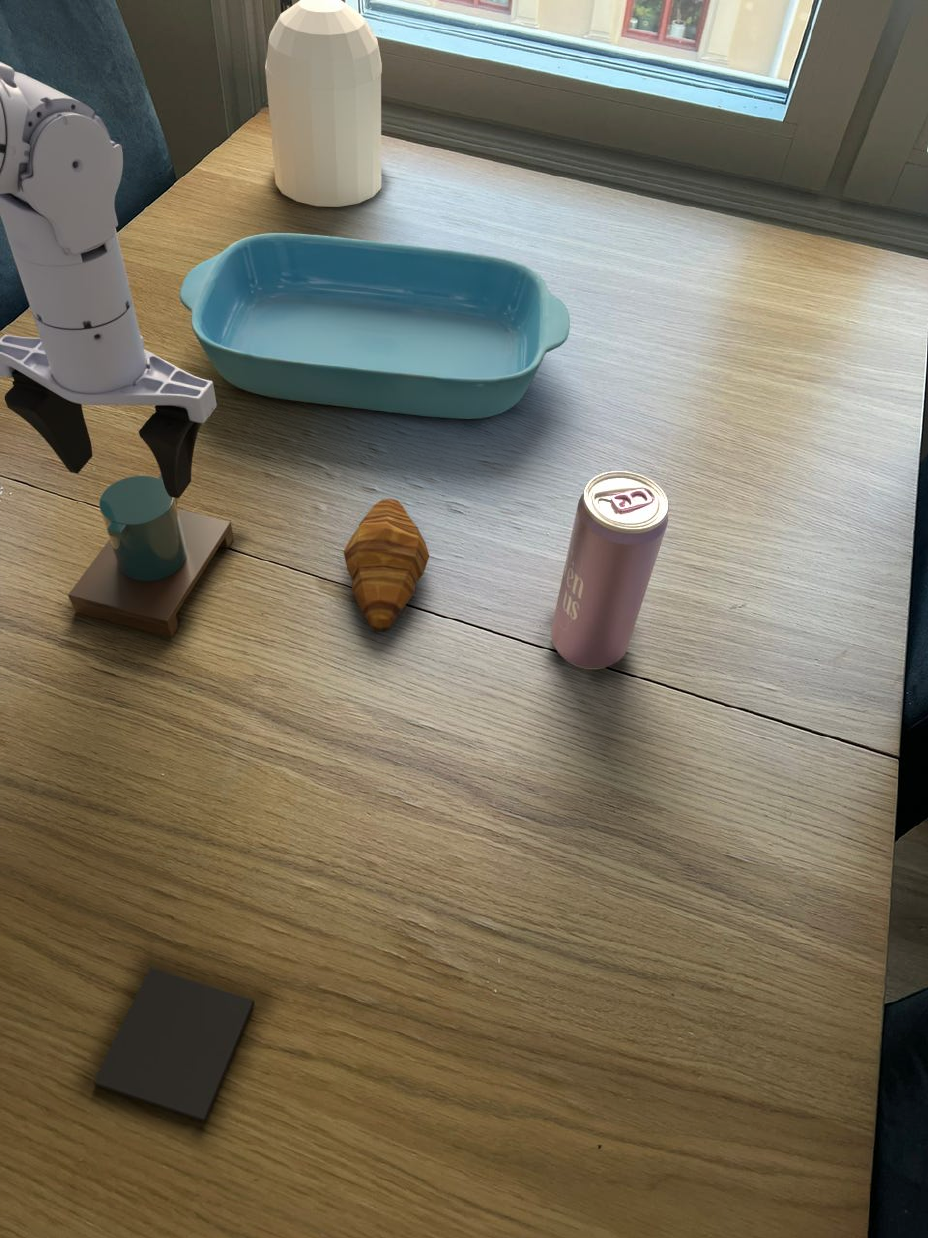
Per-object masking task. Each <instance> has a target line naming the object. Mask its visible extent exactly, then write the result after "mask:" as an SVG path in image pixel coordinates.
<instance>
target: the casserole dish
mask: <svg viewBox="0 0 928 1238" xmlns="http://www.w3.org/2000/svg"><path fill="white" fill-rule="evenodd" d="M179 299H180V302H181V304H182V305H183V306H184V307H185V308H186V309H187V310H188V311H190V313H191V315H190V325H191V328H192V332H193V335H195V337H196V339H197V341H198V342H199V345H200V346H201V348H202V350H203V352H204V354H205V355H206V356H207V358H208V360H209V362H210V363H211V365H212V366H213V368H214V369H215V370H216V372H217V373H218V374H219V375H220V376H221V378H223V379H224V380H226V381H227V382H228V383H230V384H231V385H232V386H234V387H237V388H239V389H241V390H244V391H246V392H249V393H252V394H256V395H259V396H265V397H268V398H272V399H273V398H274V399H280V400H288V401H296V402H301V403H302V402H303V403H311V404H319V405H325V406H326V405H327V406H334V407H343V408H351V409H362V410H370V411H376V412H377V411H378V412H385V413H386V412H387V413H395V414H403V415H412V416H421V417H431V418H444V419H445V418H446V419H465V420H474V419H475V420H479V419H480V420H481V419H486V418H491V417H494V416H498V415H500V414H503V413H505V412H506V411H509V410H510V409H511V408H513V407H515V405H516V404H518V403H519V402H520V401H521V400H522V398H523V396H524V395H525V394H526V393H527V390H528V389H529V388H530V385H531V383H532V381H533V379H534V377H535V375H536V374H537V372H538V369H539V368H540V366H541V364H542V362H543V360H544V357H545V356H546V354H547V353H549V352H551V351H554V350H555V349H559V348H560V347H561V346H562V345H564V343H566V341H567V340H568V338H569V334H570V327H571V325H570V323H571V322H570V321H571V319H570V313H569V309H568V307H567V305H566V304H565V303H564V301H562V300H561V299H560V298H559V297H557V296H556V295H555V294H553V293H552V292H551V291H549V288H548V286H547V283H546V281H545V280H544V278H543V277H542V276H541V275H540V274H539V273H538V272H537V271H536V270H534V269H533V268H531V267H529V266H527V265H525V264H522V263H520V262H517V261H514V260H511V259H508V258H503V257H500V256H494V255H488V254H481V253H475V252H469V251H461V250H453V249H444V248H438V247H427V246H420V245H412V244H411V245H410V244H402V243H393V242H384V241H374V240H367V239H366V240H365V239H356V238H347V237H340V236H339V237H338V236H330V235H319V234H306V233H294V232H293V233H290V232H287V233H286V232H274V233H273V232H272V233H269V232H268V233H261V234H255V235H250V236H247V237H243V238H241V239H239V240H237V241H235V242H232V243H231V244H229V246H228V247H226V248H225V249H224V250H223V251H221V252H220V253H218V254H217V255H215V256H212V257H210V258H208V259H206V260H203V262H200V263H198V264H197V265H195V266H194V267H193V268H192V269H191V270H189V272H188V273H187V274H186V276H185V278H184V280H183V282H182V283H181V286H180V289H179Z"/></svg>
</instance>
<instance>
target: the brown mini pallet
mask: <svg viewBox="0 0 928 1238" xmlns="http://www.w3.org/2000/svg"><path fill="white" fill-rule="evenodd" d="M177 509H178V514H179V519H180V523H181V527H182V531H183V536H184V540H185V544H186V548H187V558H186V561H185V563H184V564H183V566H182V567H181V568H180V569H179V570H178V571H177V572H176V573H174V574H172V575H171V576H169V577H166V578H164V579H160V580H156V581H139V580H135V579H132V578H130V577H128V576H126V575H125V574H124V573H123V572H122V571H121V570H120V568H119V566H118V563H117V560H116V557H115V554H114V551H113V547H112V544H111V541H110V539H109V540H108V541H107V542H106V543H105V545H104V546H103V548H102V549H101V550H100V551H99V553H98V554H97V556H96V557H95V558H94V560H93V561H92V562H91V564H89V566H88V567H87V569H86V570H85V571H84V573H83V574H82V575H81V577H80V578H79V579H78V581H77V582H76V583H75V585H74V586H73V587H72V589H71V590H70V591H69V593H68V594H67V596H68V598H69V601H70V603H71V606H72V608H73V610H74V611H73V612H75V613H76V614H77V613H78V614H82V615H85V616H88V617H93V618H96V619H99V620H104V621H107V622H108V621H109V622H112V623H115V624H120V625H123V626H126V627H130V628H134V629H138V630H141V631H145V632H150V633H152V634H156V635H160V636H164V637H168V638H173V637H174V635H175V634H176V632H177V630H178V629H179V623H178V618H177V614H178V612H179V610H180V609H181V607H182V606H183V604H184V602H185V601H186V600H187V598H188V596H189V595H190V593H191V592H192V590H193V588H194V587H195V586H196V584H197V582H198V581H199V579H200V577H201V576H202V574H203V572H204V571H205V570H206V568H207V567H208V565H209V563H210V562H211V560H212V558H213V557H214V556H215V554H216V552H217V551H218V549H219V547H220V548H224V549H229V547H230V546H231V544H232V543H233V541H234V533H233V528H232V527H233V525H232V522H231V521H230V520H226V519H222V518H218V517H214V516H209V515H206V514H202V513H197V512H193V511H189V510H186V509H181V508H178V507H177Z"/></svg>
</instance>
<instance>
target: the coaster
mask: <svg viewBox="0 0 928 1238" xmlns="http://www.w3.org/2000/svg"><path fill="white" fill-rule="evenodd" d="M136 993H137V994H136V995H135V997H134V999H133V1001H132V1003H131V1005H130V1007H129V1009H128V1012H127V1013H126V1014H125V1018H124V1019H123V1021H122V1023H121V1026H120V1027H119V1030H118V1031H117V1034H116V1035H115V1037H114V1040H113V1041H112V1044H111V1046H110V1047H109V1050H108V1051H107V1054H106V1055H105V1058H104V1059H103V1062H102V1063H101V1066H100V1067H99V1070H98V1072H97V1074H96V1075H95V1078H94V1080H93V1082H92V1083H93V1084H94V1085H95V1086H97V1087H100V1088H103V1089H107V1090H109V1091H112V1092H115V1093H117V1094H120V1095H124V1096H127V1097H129V1098H132V1099H135V1100H139V1101H142V1102H144V1103H148V1104H150V1105H154V1106H156V1107H159V1108H162V1109H166V1110H168V1111H171V1112H175V1113H177V1114H180V1115H183V1116H186V1117H189V1118H192V1119H195V1120H198V1121H202V1122H206V1121H207V1119H208V1116H209V1114H210V1111H211V1110H212V1109H211V1108H212V1106H213V1105H214V1101H215V1099H216V1097H217V1094H218V1091H219V1090H220V1087H221V1084H222V1083H223V1080H224V1077H225V1075H226V1072H227V1070H228V1068H229V1065H230V1062H231V1060H232V1058H233V1056H234V1053H235V1050H236V1048H237V1046H238V1043H239V1042H240V1040H241V1039H240V1038H241V1037H242V1034H243V1031H244V1030H245V1026H246V1024H247V1021H248V1020H249V1017H250V1014H251V1013H252V1009H253V1006H254V1005H255V1001H254V999H252V998H249V997H246V996H243V995H241V994H240V995H239V994H236V993H233V992H230V991H227V990H225V989H224V990H223V989H220V988H217V987H214V986H212V985H208V984H205V983H202V982H198V981H195V980H192V979H189V978H185V977H183V976H179V975H176V974H173V973H170V972H167V971H164V970H160V969H157V968H154V967H149V968H148V970H147V973H146V975H145V977H144V979H143V980H142V983H141V985H140V987H139V989H138V991H137V992H136Z"/></svg>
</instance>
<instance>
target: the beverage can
mask: <svg viewBox="0 0 928 1238" xmlns="http://www.w3.org/2000/svg"><path fill="white" fill-rule="evenodd" d="M579 497H580V498H579V499H578V502H577V506H576V511H575V517H574V521H573V526H572V530H571V535H570V539H569V545H568V549H567V554H566V560H565V563H564V567H563V571H562V577H561V582H560V587H559V591H558V596H557V600H556V604H555V605H556V606H555V610H554V614H553V619H552V623H551V629H550V638H551V643H552V644H553V647H554V648H555V650H556V652H557V653H558V654H559V655H560V656H561V658H562V659H564V660H565V661H566V662H567V663H569V664H570V665H572V666H575V667H577V668H581V669H584V670H602V669H605V668H608V667H611V666H613V665H614V664H616V663H618V662H620V660H622V659H623V657H624V656H625V655H626V653H627V651H628V649H629V645H630V642H631V639H632V636H633V633H634V630H635V626H636V624H637V621H638V617H639V614H640V612H641V608H642V605H643V602H644V599H645V595H646V592H647V589H648V586H649V583H650V580H651V577H652V574H653V571H654V568H655V564H656V562H657V558H658V555H659V552H660V549H661V546H662V543H663V540H664V536H665V534H666V530H667V527H668V523H669V512H670V511H669V510H670V503H669V502H670V501H669V498H668V496H667V494H666V493H665V491H664V490H663V489H662V487H660V486H659V485H658V484H657V483H656V482H655V481H653V480H652V479H651V478H649V477H646V476H645V475H641V474H639V473H635V472H631V471H623V470H613V471H608V472H607V471H606V472H603V473H601V474H598V475H596V476H594V477H593V478H592V479H590V480H589V482H587V484H586V485H585V487H584V489H583V493H582V494H581V495H580V496H579Z"/></svg>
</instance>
